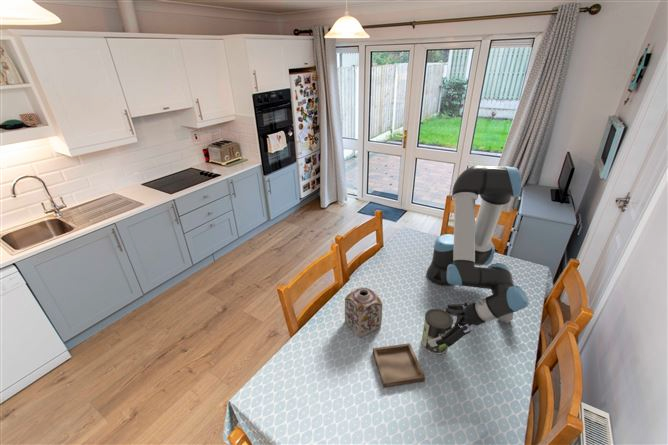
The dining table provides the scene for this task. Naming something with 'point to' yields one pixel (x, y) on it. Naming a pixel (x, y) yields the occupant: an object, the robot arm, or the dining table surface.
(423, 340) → the coffee can
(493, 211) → the robot arm
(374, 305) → the decorative jar
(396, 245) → the dining table surface
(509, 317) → the salt shaker
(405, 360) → the holder tray
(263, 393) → the dining table surface
